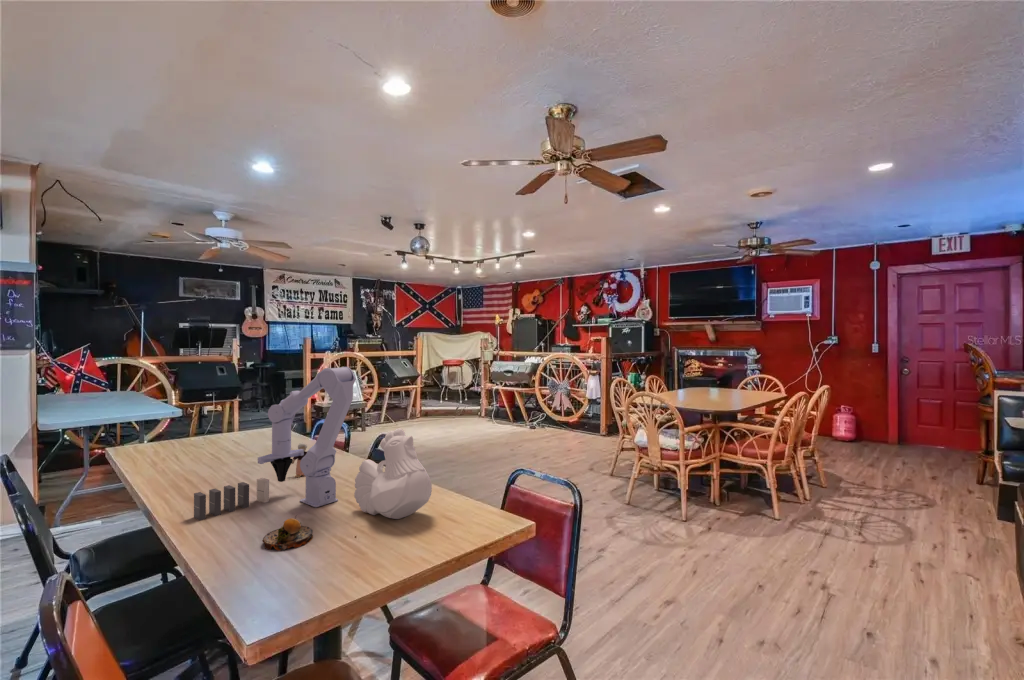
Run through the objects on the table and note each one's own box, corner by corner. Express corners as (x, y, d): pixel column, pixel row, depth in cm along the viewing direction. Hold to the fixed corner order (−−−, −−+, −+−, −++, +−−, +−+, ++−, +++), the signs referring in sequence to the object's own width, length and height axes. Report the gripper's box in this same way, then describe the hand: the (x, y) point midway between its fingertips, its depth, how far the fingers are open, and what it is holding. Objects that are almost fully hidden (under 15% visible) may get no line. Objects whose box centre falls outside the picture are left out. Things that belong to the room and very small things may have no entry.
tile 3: (220, 514, 138) (221, 491, 138) (214, 516, 137) (214, 492, 137) (215, 511, 140) (215, 488, 140) (209, 513, 139) (209, 489, 139)
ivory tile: (269, 501, 150) (269, 479, 150) (264, 502, 148) (264, 480, 148) (261, 499, 151) (261, 477, 151) (256, 500, 150) (256, 479, 150)
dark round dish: (300, 528, 129) (300, 501, 129) (321, 540, 122) (321, 511, 122) (254, 542, 120) (254, 513, 120) (274, 556, 112) (274, 525, 112)
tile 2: (235, 510, 141) (235, 487, 141) (229, 512, 140) (229, 489, 140) (229, 507, 144) (229, 485, 144) (223, 509, 142) (223, 486, 142)
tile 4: (205, 518, 135) (205, 494, 135) (199, 520, 133) (199, 496, 133) (200, 515, 137) (200, 491, 137) (193, 517, 136) (193, 493, 136)
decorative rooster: (448, 496, 136) (423, 422, 148) (405, 500, 123) (382, 419, 136) (397, 533, 146) (378, 460, 158) (353, 540, 134) (336, 461, 146)
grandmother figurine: (295, 479, 173) (295, 444, 173) (290, 477, 176) (290, 443, 176) (314, 474, 179) (314, 441, 179) (309, 472, 182) (309, 440, 182)
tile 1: (249, 506, 144) (249, 484, 144) (243, 508, 143) (243, 485, 143) (243, 504, 147) (243, 481, 147) (237, 505, 145) (237, 483, 145)
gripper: (296, 435, 163) (296, 473, 163) (253, 442, 151) (252, 484, 151) (307, 437, 159) (307, 477, 159) (263, 445, 147) (263, 488, 147)
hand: (281, 481), depth 155 cm, fingers closed
